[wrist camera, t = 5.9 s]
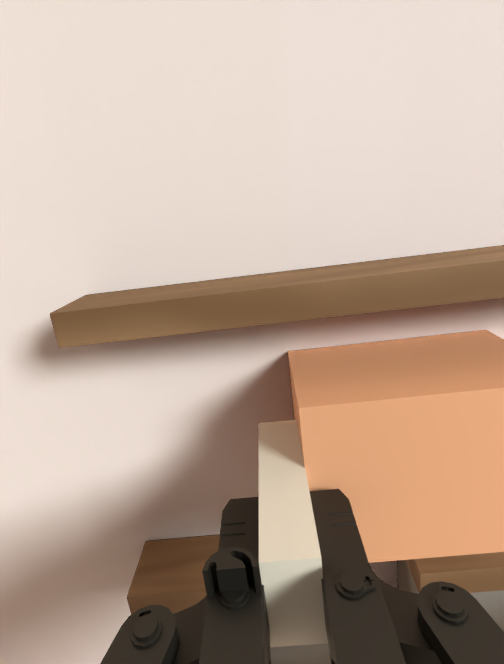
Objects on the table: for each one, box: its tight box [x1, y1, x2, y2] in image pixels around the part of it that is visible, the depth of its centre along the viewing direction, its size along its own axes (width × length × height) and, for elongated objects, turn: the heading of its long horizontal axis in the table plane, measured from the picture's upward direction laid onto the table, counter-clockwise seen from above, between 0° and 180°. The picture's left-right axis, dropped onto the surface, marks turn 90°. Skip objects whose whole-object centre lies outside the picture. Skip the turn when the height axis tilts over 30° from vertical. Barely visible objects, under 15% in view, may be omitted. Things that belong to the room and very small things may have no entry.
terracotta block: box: [288, 330, 504, 563], centre depth 15 cm, size 6×8×5 cm
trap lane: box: [50, 245, 504, 664], centre depth 17 cm, size 19×29×4 cm, turn 97°
